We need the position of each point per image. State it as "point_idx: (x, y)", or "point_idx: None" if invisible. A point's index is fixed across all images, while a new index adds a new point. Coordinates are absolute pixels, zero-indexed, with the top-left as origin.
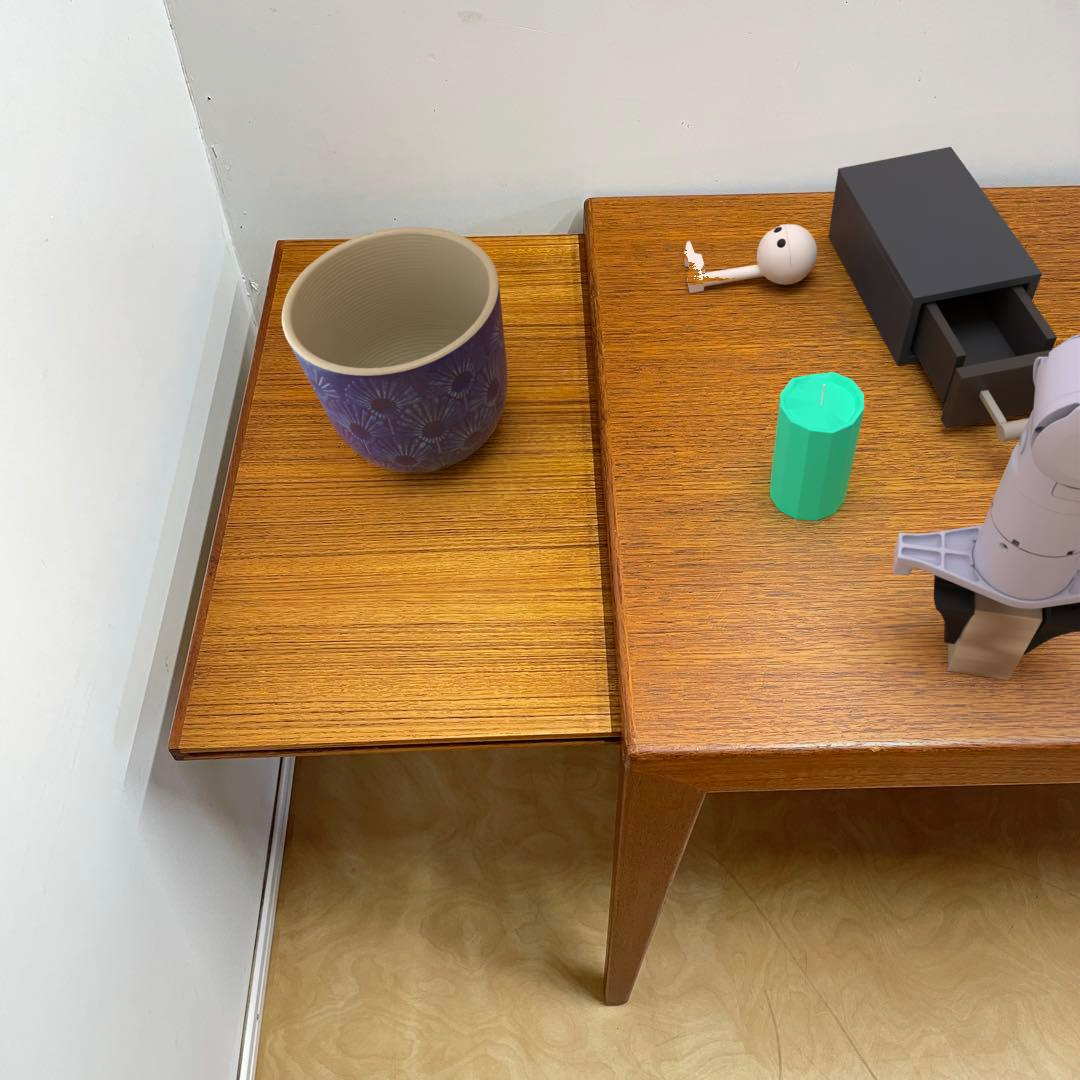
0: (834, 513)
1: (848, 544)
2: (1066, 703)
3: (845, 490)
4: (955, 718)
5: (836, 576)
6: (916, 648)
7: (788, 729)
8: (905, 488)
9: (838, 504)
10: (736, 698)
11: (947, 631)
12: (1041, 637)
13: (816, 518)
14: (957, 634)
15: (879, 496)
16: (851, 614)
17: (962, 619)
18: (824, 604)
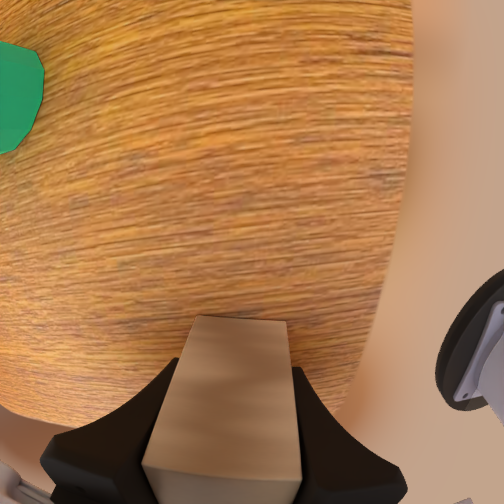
0: (30, 129)
1: (49, 182)
2: (341, 398)
3: (19, 102)
4: None
5: (45, 245)
6: (157, 352)
7: (70, 418)
8: (127, 41)
9: (25, 119)
10: (26, 389)
11: None
12: None
13: (10, 150)
14: None
15: (87, 71)
16: (73, 305)
17: None
18: (44, 292)
